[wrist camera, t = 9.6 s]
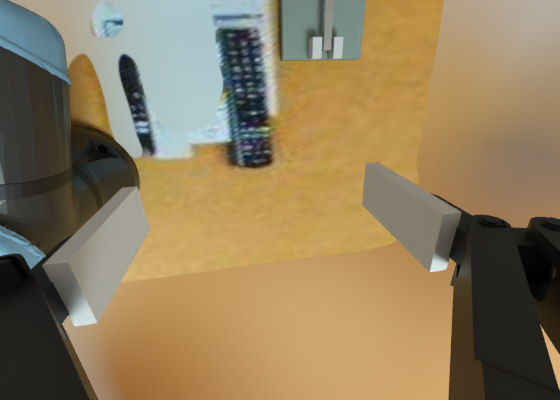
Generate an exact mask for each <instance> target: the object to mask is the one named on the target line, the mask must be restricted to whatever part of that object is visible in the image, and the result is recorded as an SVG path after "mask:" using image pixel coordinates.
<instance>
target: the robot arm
mask: <svg viewBox="0 0 560 400" xmlns="http://www.w3.org/2000/svg"><path fill="white" fill-rule="evenodd" d="M69 85H71V79H70V78H69V77H68V73H67V63H66V54H65V45H64V41H63V38H62V37H61V35H60V33H59V32H58V30H57V29H56V28H55V27H54V26H53V25H52V24H51V23H50V22H49V21H47V20H46V19H44V18H43V17H41V16H40V15H38V14H36V13H34V12H32V11H30V10H28V9H26V8H24V7H22V6H20V5H17V4H15V3H13V2H11V1H8V0H0V400H98V398H97V396H96V394H95V392H94V390H93V388H92V386H91V383H90V381H89V380H88V377H87V375H86V373H85V371H84V369H83V366H82V365H81V362H80V360H79V358H78V356H77V354H76V352H75V350H74V347H73V345H72V343H71V341H70V339H69V337H68V335H67V333H66V331H65V329H64V328H63V325H62V323H63V321H64V320H65V319H66V317H67V316H68V315H69V316H70V318H71V320H72V322H73V324H74V326H81V325H88V324H94V323H98V321H99V320H100V318H101V316H102V314H103V312H104V311H105V309H106V307H107V305H108V304H109V302H110V300H111V298H112V296H113V294H114V293H115V291H116V289H117V288H118V286H119V284H120V282H121V280H122V279H123V277H124V275H125V273H126V272H127V270H128V268H129V266H130V264H131V263H132V261H133V259H134V257H135V256H136V254H137V252H138V250H139V248H140V247H141V245H142V243H143V241H144V240H145V238H146V236H147V234H148V233H149V231H150V228H149V224H148V221H147V218H146V214H145V211H144V208H143V205H142V201H141V198H140V195H139V185H140V182H139V174H138V171H137V168H136V166H135V163H134V162H133V160H132V158H131V157H130V155H129V154H128V153H127V152H126V150H125V149H124V148H123V147H122V146H120V144H118V143H117V142H116V141H114V140H113V139H112V138H110V137H108V136H107V135H105V134H103V133H101V132H98V131H96V130H93V129H89V128H85V127H78V126H71V118H70V94H69ZM362 205H363V206H364V207H365V208H366V209H367V210H368V211H369V212H370V213H371V214H372V215H373V216H374V217H375V218H376V219H377V220H378V221H379V222H380V223H381V224H382V225H383V226H384V227H385V228H386V229H387V230H388V231H389V232H390V233H391V234H392V235H393V236H394V237H395V238H396V239H397V240H398V241H399V242H400V243H401V244H402V245H403V246H404V247H405V248H406V249H407V250H408V251H409V252H410V253H411V254H412V255H413V256H414V257H415V258H416V259H417V260H418V261H419V262H420V263H421V264H422V265H423V266H424V267H425V268H426V269H427V270H428V271H429V272H434V271H441V270H446V268H447V265H448V261H449V258H451V259H452V260H454V261H455V262H456V267H455V270H454V274H453V277H452V281H451V284H450V285H452V286H454V290H453V314H452V336H451V358H450V379H449V380H450V381H449V400H560V390H559V388H558V384H557V381H556V378H555V374H554V371H553V367H552V364H551V361H550V357H549V354H548V350H547V347H546V343H545V340H544V337H543V333H542V330H541V327H540V325H541V326H542V328H543V329H544V331H545V333H546V334H547V336H548V337H549V339H550V340H551V342H552V343H553V345H554V346H555V348H556V350H557V351H558V353H559V354H560V219H556V218H551V217H550V218H547V217H534V218H531V220H530V222H529V224H528V227H527V228H512V227H511V226H510V224H509V223H507V222H506V221H504V220H502V219H500V218H497V217H493V216H489V215H473V216H472V215H470V214H469V213H467V212H465V211H463V210H462V209H460V208H458V207H457V206H455V205H454V206H453V204H451V203H450V202H447V201H446V200H445V199H443V198H441V197H439V196H437V195H434V194H431V193H429V192H427V191H425V190H424V189H422V188H420V187H418V186H417V185H415V184H414V183H412V182H410V181H408V180H407V179H405V178H403V177H402V176H400V175H398V174H397V173H395V172H393V171H392V170H390V169H388V168H387V167H385V166H383V165H382V164H380V163H378V162H376V163H366V168H365V179H364V190H363V202H362Z"/></svg>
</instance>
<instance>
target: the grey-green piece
mask: <svg viewBox="0 0 560 400" xmlns="http://www.w3.org/2000/svg"><path fill="white" fill-rule="evenodd" d="M323 2H324V0H280V16H281V61H310V60H358V59H360V54H361V43H362V33H363V22H364V12H365V2H366V0H334V5H333V23H332V41H331V50H330V51H322V26H323Z"/></svg>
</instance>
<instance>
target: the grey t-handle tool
mask: <svg viewBox="0 0 560 400" xmlns="http://www.w3.org/2000/svg"><path fill="white" fill-rule="evenodd" d="M333 5H334V0H324V2H323V26H322V51H330V50H331V41H332V23H333Z"/></svg>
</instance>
